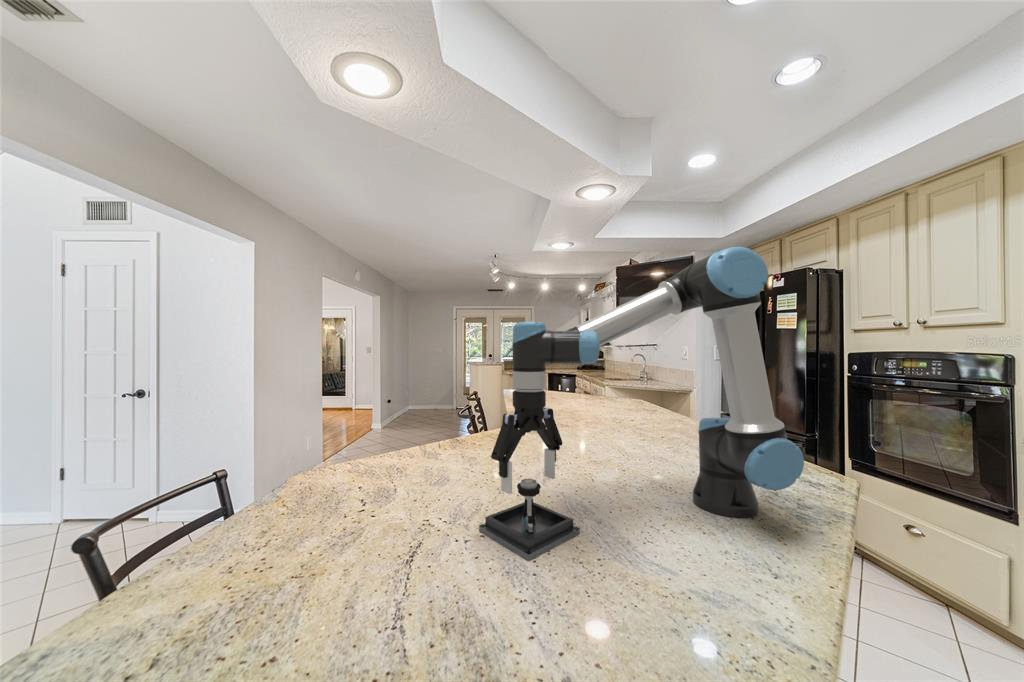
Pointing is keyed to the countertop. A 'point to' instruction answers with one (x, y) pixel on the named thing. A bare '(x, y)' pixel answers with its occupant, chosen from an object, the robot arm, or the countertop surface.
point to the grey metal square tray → (521, 541)
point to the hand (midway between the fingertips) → (529, 484)
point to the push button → (528, 501)
